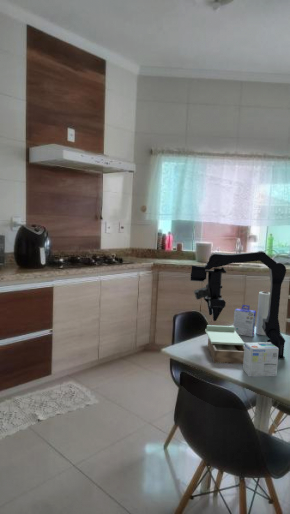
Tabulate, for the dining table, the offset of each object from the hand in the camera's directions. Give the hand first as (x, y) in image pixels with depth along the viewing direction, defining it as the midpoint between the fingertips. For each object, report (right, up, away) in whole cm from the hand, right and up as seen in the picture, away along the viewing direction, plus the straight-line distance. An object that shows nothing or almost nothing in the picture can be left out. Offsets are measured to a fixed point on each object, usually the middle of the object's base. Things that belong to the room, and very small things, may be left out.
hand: (212, 317), depth 149 cm
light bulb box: (+13, -17, -21) cm, 30 cm away
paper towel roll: (+30, -13, +24) cm, 41 cm away
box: (+5, -15, -6) cm, 17 cm away
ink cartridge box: (+20, -13, +23) cm, 33 cm away
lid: (+5, -9, 0) cm, 10 cm away
